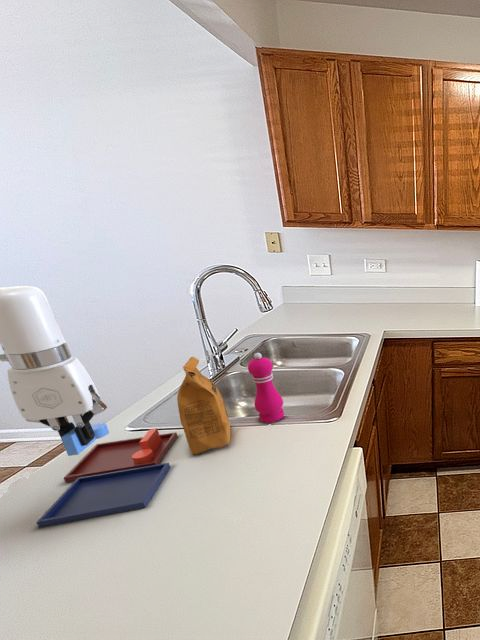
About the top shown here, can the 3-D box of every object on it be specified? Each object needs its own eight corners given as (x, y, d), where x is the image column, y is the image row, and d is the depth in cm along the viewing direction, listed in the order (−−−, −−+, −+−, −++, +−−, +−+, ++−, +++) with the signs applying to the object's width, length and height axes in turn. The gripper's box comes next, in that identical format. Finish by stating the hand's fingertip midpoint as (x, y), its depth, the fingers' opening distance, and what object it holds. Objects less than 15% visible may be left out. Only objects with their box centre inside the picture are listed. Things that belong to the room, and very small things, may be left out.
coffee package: (236, 424, 110) (215, 351, 102) (233, 447, 100) (210, 368, 92) (193, 433, 106) (168, 357, 98) (186, 458, 96) (157, 376, 88)
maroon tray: (65, 483, 88) (63, 477, 88) (98, 448, 100) (96, 443, 100) (157, 467, 93) (155, 462, 92) (177, 436, 105) (176, 432, 104)
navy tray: (38, 528, 76) (35, 522, 76) (80, 482, 88) (77, 477, 88) (145, 507, 81) (143, 502, 81) (170, 467, 93) (168, 462, 93)
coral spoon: (149, 443, 101) (144, 429, 100) (167, 440, 103) (162, 427, 101) (131, 466, 93) (125, 452, 91) (150, 463, 94) (145, 449, 92)
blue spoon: (85, 453, 76) (78, 434, 75) (60, 457, 75) (53, 438, 74) (113, 429, 85) (106, 413, 84) (91, 433, 84) (84, 416, 83)
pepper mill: (252, 422, 112) (235, 356, 104) (270, 409, 118) (255, 347, 110) (274, 425, 110) (258, 359, 102) (291, 412, 116) (278, 349, 109)
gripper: (-35, 370, 65) (17, 462, 73) (83, 358, 70) (120, 445, 77) (-1, 354, 72) (43, 440, 79) (105, 344, 77) (137, 426, 84)
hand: (81, 442), depth 78 cm, fingers closed on blue spoon, 1 cm apart
